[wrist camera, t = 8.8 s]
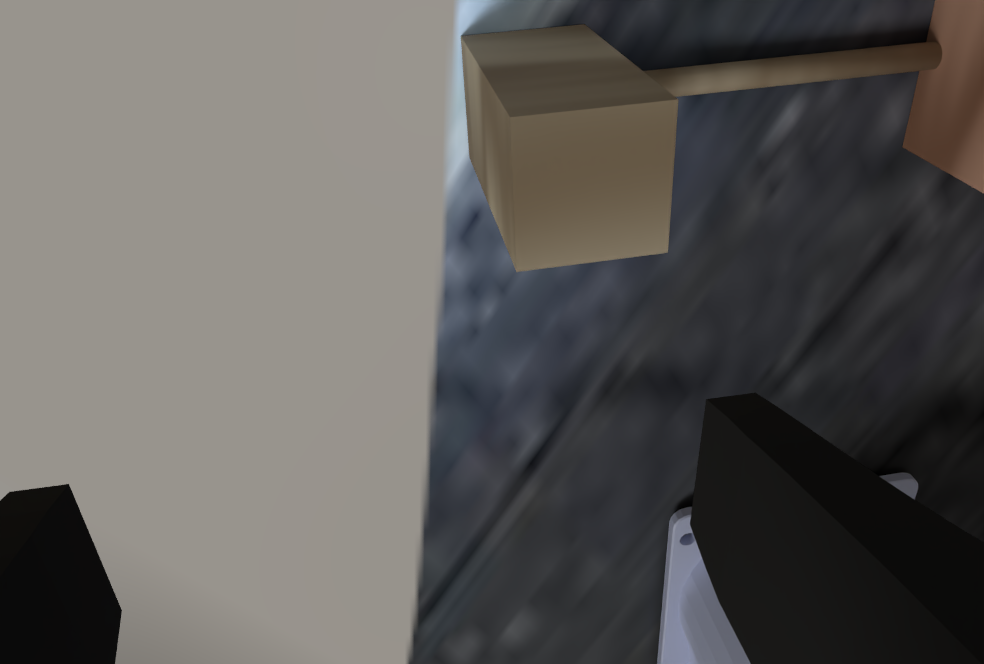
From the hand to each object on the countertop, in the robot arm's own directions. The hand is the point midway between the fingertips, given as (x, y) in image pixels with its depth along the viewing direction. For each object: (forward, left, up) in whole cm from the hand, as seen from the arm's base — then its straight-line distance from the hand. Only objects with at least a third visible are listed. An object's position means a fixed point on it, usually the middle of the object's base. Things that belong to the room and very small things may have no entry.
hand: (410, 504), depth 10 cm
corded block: (+2, -10, -10) cm, 14 cm away
